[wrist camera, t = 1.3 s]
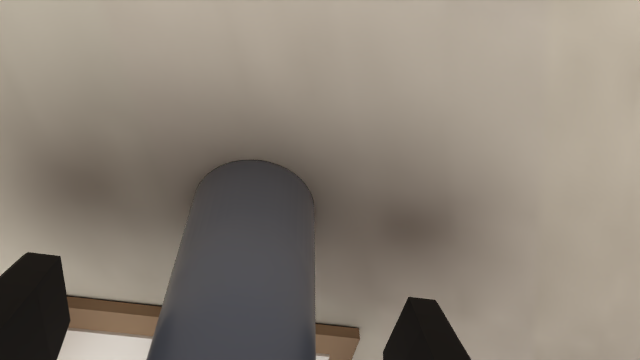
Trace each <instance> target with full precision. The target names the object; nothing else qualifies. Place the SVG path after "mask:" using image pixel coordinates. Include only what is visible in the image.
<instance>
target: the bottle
mask: <svg viewBox="0 0 640 360" xmlns="http://www.w3.org/2000/svg"><path fill="white" fill-rule="evenodd" d="M146 360H316V328H315V242H314V202H313V198H312V195H311V193H310V191H309V189H308V188H307V186H306V185H305V184H304V182H303V181H302V180H301V179H300V178H299V177H298V176H296V175H295V174H294V173H292V172H291V171H289V170H287V169H286V168H283V167H281V166H279V165H276V164H273V163H270V162H265V161H258V160H242V161H235V162H231V163H228V164H225V165H222V166H220V167H218V168H216V169H214V170H213V171H211V172H210V173H209V174H208V175H207V176H205V177H204V178H203V180H202V181H201V182H200V184H199V186H198V187H197V189H196V192H195V195H194V199H193V202H192V206H191V209H190V212H189V216H188V219H187V223H186V226H185V229H184V233H183V236H182V240H181V243H180V247H179V250H178V253H177V257H176V260H175V264H174V267H173V270H172V274H171V277H170V281H169V284H168V287H167V291H166V294H165V298H164V301H163V305H162V308H161V311H160V315H159V318H158V322H157V325H156V328H155V332H154V335H153V339H152V342H151V345H150V349H149V352H148V356H147V359H146Z"/></svg>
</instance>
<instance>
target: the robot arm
mask: <svg viewBox="0 0 640 360" xmlns="http://www.w3.org/2000/svg"><path fill="white" fill-rule="evenodd" d="M70 321H71V320H70V314H69V308H68V301H67V295H66V289H65V282H64V276H63V270H62V264H61V257H60V256H55V255H46V254H38V253H29V252H28V253H26V254H25V255H23V256H22V257H21V258H20V259H18V260H17V261H16V262H15V263H14V264H13V265H12V266H11V267H10V268H9V269H8V270H6V271H5V272H4V273H3V274H2V275H1V276H0V360H57V358H58V355H59V353H60V350H61V347H62V344H63V341H64V338H65V335H66V332H67V329H68V326H69V323H70ZM383 360H471V359H470V357H469V355H468V354H467V352H466V350H465V349H464V347H463V345H462V344H461V342H460V340H459V339H458V337H457V335H456V334H455V332H454V330H453V328H452V327H451V325H450V323H449V322H448V320H447V318H446V317H445V315H444V313H443V311H442V310H441V308H440V306H439V305H438V303H437V302H436V300H430V299H422V298H413V297H408V299H407V302H406V304H405V306H404V308H403V310H402V312H401V314H400V317H399V319H398V321H397V323H396V325H395V327H394V329H393V332H392V334H391V336H390V338H389V340H388V342H387V344H386V347H385V349H384V351H383Z"/></svg>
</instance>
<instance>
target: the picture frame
mask: <svg viewBox="0 0 640 360" xmlns="http://www.w3.org/2000/svg"><path fill="white" fill-rule="evenodd" d="M67 301H68V308H69V314H70V320H71V321H70V323H69V326H68V329H67V332H66V335H65V338H64V341H63V344H62V347H61V350H60V353H59V355H58V358H57V360H146V359H147V356H148V352H149V349H150V345H151V342H152V339H153V335H154V332H155V328H156V325H157V322H158V318H159V315H160V311H161V308H162V307H159V306H150V305H141V304H131V303H122V302H113V301H104V300H95V299H86V298H77V297H68V296H67ZM315 328H316V360H351V359H352V357H353V355H354V352H355V350H356V347H357V345H358V342H359V340H360V336H359V329H358V328H349V327H340V326H330V325H321V324H315Z"/></svg>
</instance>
